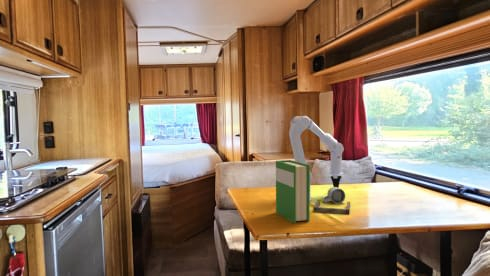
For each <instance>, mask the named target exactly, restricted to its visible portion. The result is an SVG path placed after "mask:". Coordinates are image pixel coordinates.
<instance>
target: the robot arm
mask: <svg viewBox="0 0 490 276" xmlns="http://www.w3.org/2000/svg"><path fill="white" fill-rule="evenodd" d="M289 127H290V128H289V131H288V136H289V140H290V145H291V149H292V153H293V157H294V158H293V159H294V161H296V162H300V163H304V164H307V162H306V156H305V152H304V148H303V143H302V138H301V135H302V133H303V132H304V131H305V130H306V129H307V130H310V131H311V132H312V133H314V134H315V135H317V137H318V138H319V141H320V142H321V143H322V144H323V145H324V146H325V147H327V148H328V151H329V152H330V175H331V176H330V179H331V182H332V184H333V185H332V187H337V188H340V183H341V182H340V181H341V179H342V178H343V177H342V175H344V174H345V172H342V171H343V169H342V168H343V166H342V161H343V157H342V156H343V152H344V150H345V148H344V145H343V144H342V143H340V142H338V140H337V139H335V138H334V137H333V136H332V134H331V133H328V132H324V131H323V130H322V129H321V128H320V127H319V126H318V125H317V124H316V123H315V122H314V121H313V119H311V118H310V117H308V116H307V115H302V116H298V115H296V116H294V117H293V118H292V119H291V120H290V126H289ZM313 177H314V176H313V173H312V172H311V171H310V183H311V182H312V181H313ZM312 199H313V197H311V196H310V202H311V201H312Z"/></svg>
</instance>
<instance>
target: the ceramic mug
mask: <svg viewBox="0 0 490 276" xmlns="http://www.w3.org/2000/svg"><path fill="white" fill-rule="evenodd" d="M326 194H327V195H326V196H324V197H322V200H321V201H322V202H323V203H328V202H332V203H334V204H336V205H339V204H342V203H343V202H344V201H345V200H346V192H345V191H344V190H343V189H342V188H340V187H339V188H337V187H333V186H332V187H330V188H329V189H328V190H327V193H326Z"/></svg>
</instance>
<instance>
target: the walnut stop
mask: <svg viewBox="0 0 490 276" xmlns="http://www.w3.org/2000/svg"><path fill="white" fill-rule="evenodd" d="M345 207H346V208H338V207H325V206H324V207H322V206H321V200H320V199H317V200H316V203H315V204H314V206H313V213H323V214H324V213H326V214H338V213H339V214H341V215H350V211H351V201H346V206H345ZM339 214H338V215H339Z"/></svg>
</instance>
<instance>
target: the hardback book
mask: <svg viewBox="0 0 490 276" xmlns="http://www.w3.org/2000/svg"><path fill="white" fill-rule="evenodd" d="M310 167H311V165H310V164H307V163H306V164H304V163H300V162H296V161H295V160H292V159H286V160H285V159H284V160H276V161H275V213H276V214H277V215H279V216H280V217H282V218H283V219H286V220H287V221H289V222H290V223H292V224H296V223H297V222H299V221H305V222H307V223H310V221H311V220H310V211H311V210H310V205H311V204H310V202H311V201H310V197H311V182H310V172H311V170H310V169H311V168H310Z"/></svg>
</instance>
